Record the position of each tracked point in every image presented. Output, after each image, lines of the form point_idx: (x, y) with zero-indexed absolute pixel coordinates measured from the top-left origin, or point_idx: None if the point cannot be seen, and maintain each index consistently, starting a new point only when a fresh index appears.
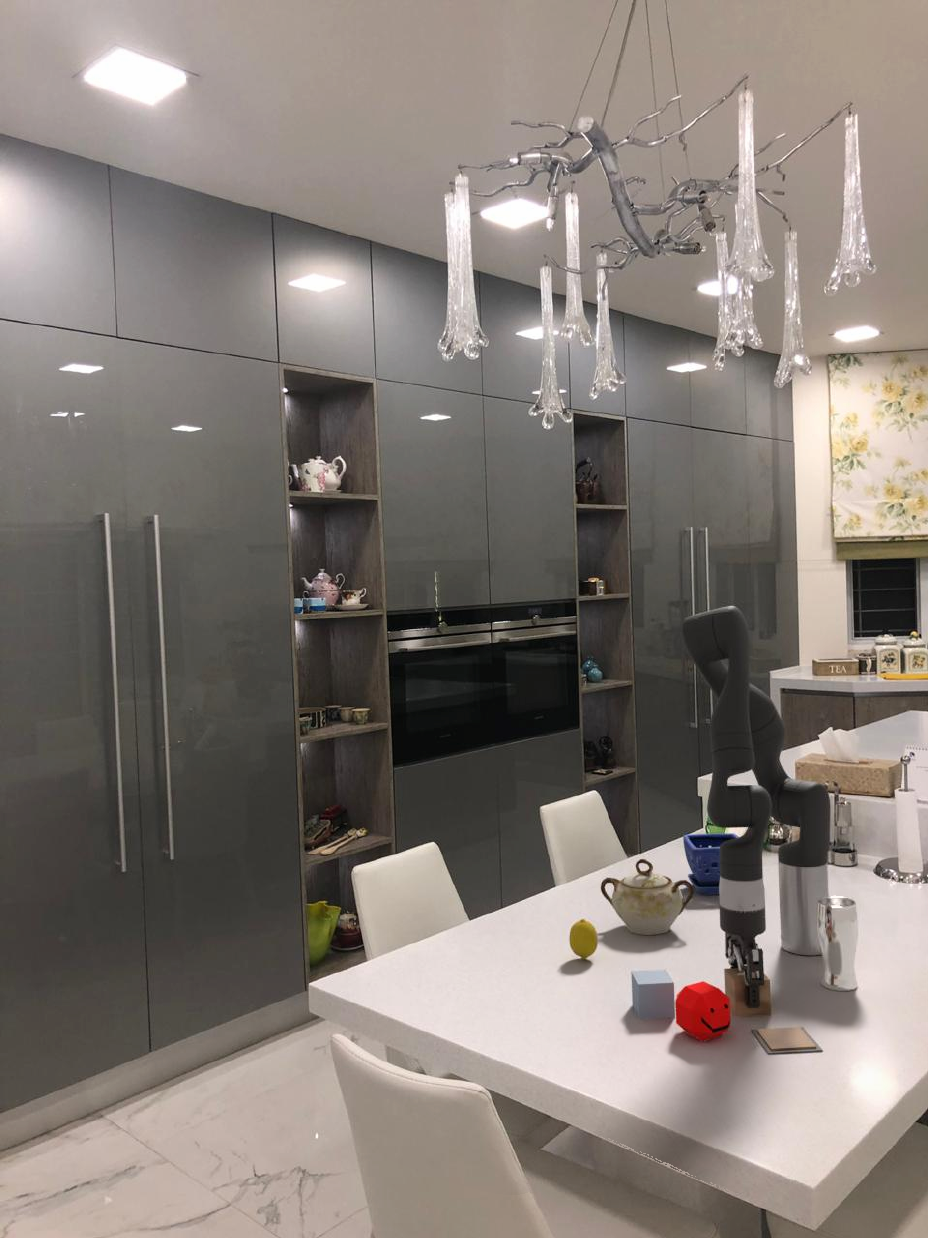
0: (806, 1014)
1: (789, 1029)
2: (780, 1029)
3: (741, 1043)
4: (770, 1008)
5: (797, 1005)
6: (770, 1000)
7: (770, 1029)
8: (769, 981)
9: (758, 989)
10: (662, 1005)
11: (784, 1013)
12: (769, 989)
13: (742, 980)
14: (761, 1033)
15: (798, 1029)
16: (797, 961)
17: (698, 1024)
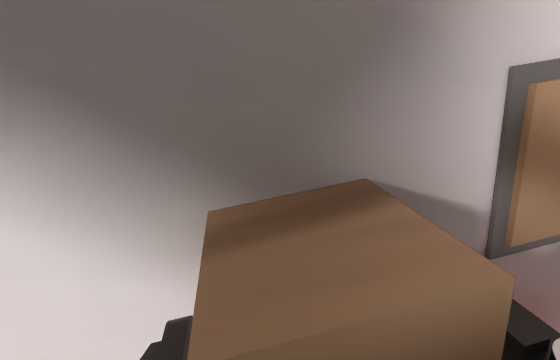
0: (371, 3)
1: (543, 133)
2: (535, 168)
3: (547, 284)
4: (380, 191)
5: (254, 24)
6: (402, 205)
7: (523, 203)
8: (503, 274)
9: (521, 321)
10: None
11: (352, 118)
12: (451, 240)
13: None
14: (540, 235)
15: (553, 94)
16: None
17: None
